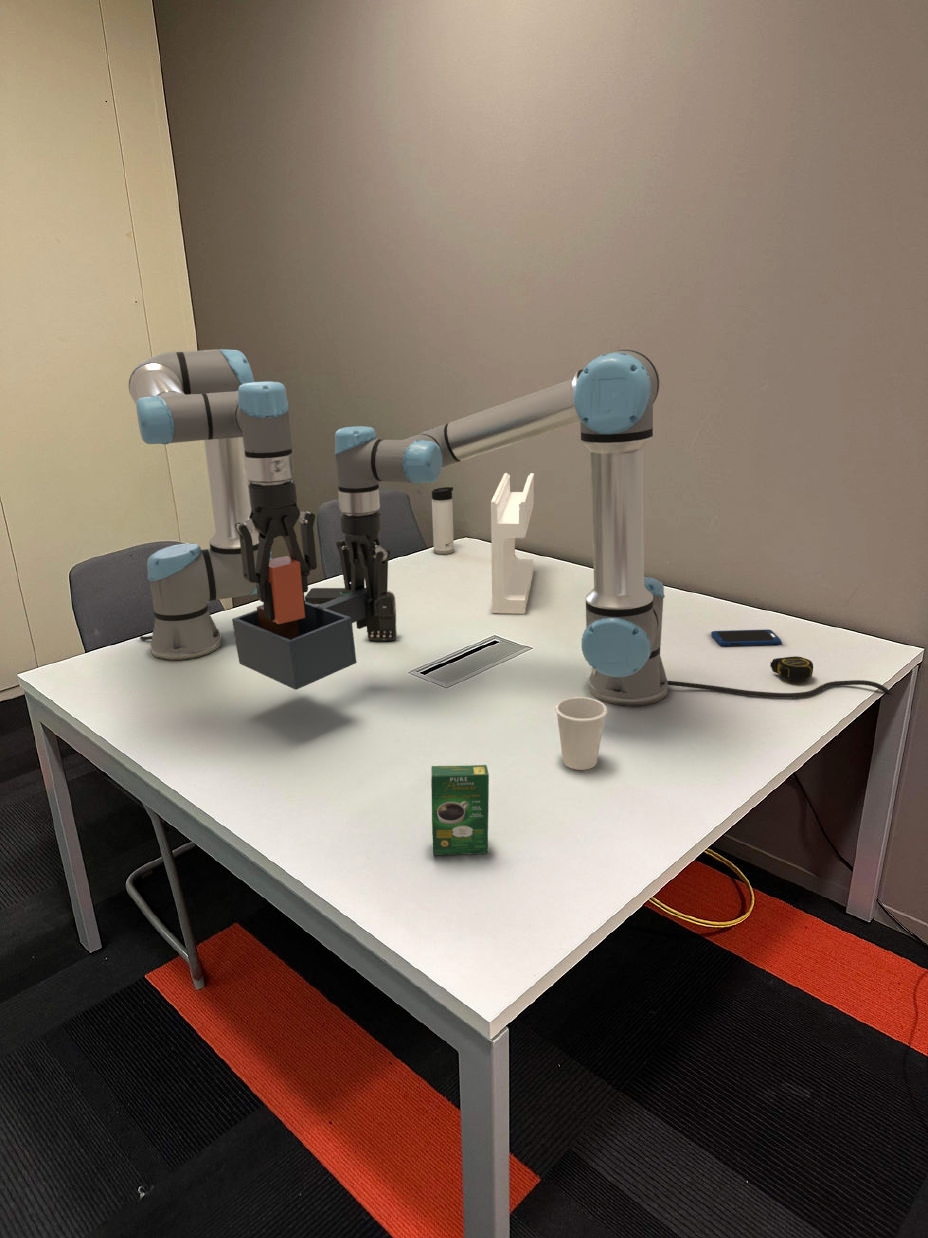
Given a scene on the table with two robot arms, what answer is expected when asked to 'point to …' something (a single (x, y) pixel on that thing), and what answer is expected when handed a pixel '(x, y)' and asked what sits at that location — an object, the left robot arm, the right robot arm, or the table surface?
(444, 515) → the travel mug
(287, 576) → the terracotta block
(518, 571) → the white stand
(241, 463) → the left robot arm
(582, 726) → the dixie cup
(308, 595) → the smart home device
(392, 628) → the battery charger
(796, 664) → the tape measure
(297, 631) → the walnut block
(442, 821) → the coffee box
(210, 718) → the table surface
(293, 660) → the tote
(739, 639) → the cell phone
